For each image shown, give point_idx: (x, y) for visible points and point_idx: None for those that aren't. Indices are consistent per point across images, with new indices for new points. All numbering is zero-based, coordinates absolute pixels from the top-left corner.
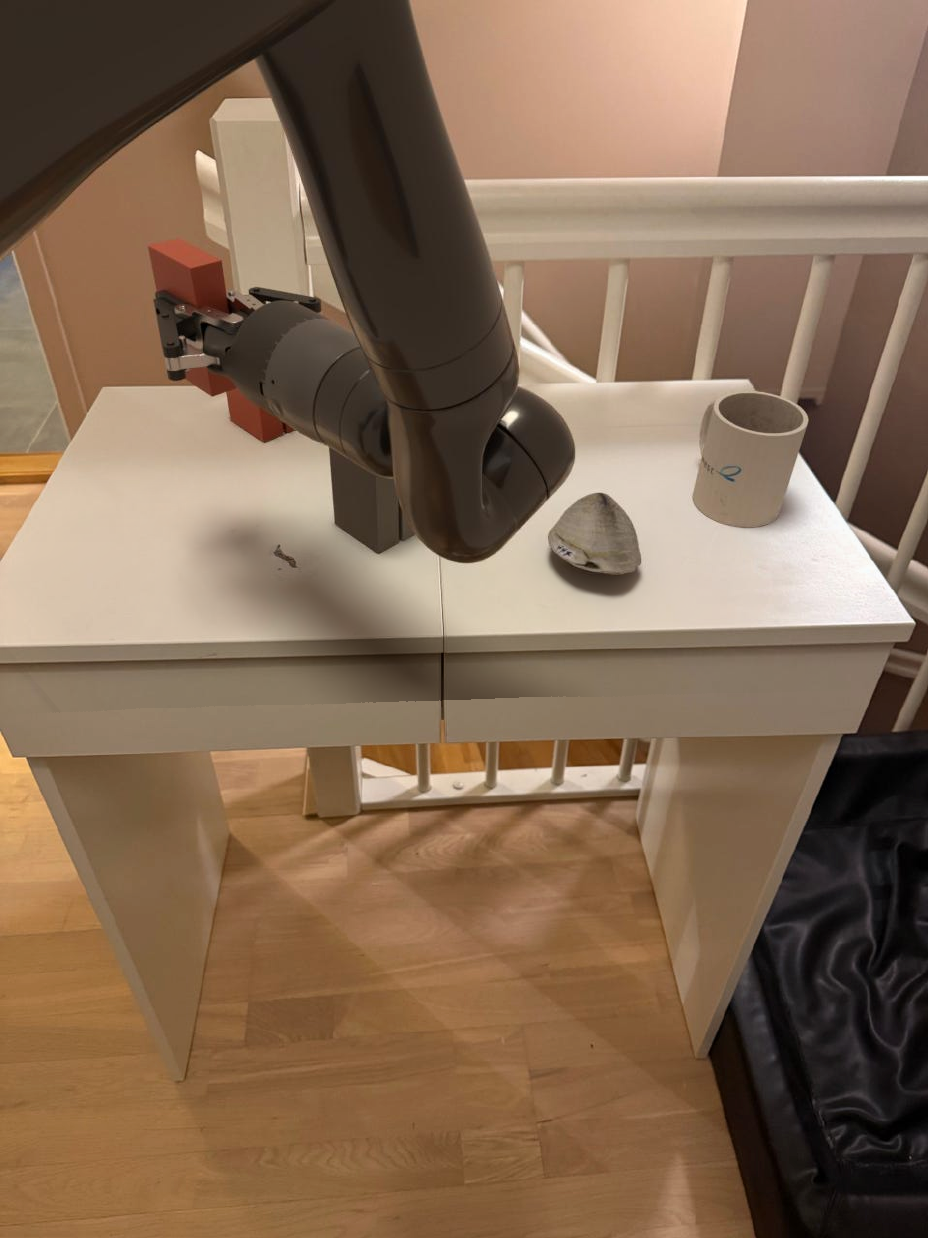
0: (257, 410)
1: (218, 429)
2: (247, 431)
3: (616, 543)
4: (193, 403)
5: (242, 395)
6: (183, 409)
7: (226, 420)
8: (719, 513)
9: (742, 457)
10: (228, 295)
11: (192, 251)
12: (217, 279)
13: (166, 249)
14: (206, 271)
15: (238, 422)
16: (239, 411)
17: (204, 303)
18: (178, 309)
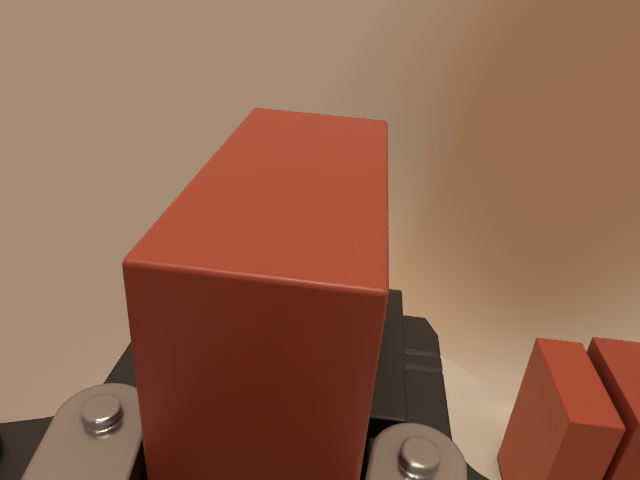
0: None
1: (467, 463)
2: None
3: None
4: (469, 391)
5: (524, 453)
6: (449, 393)
7: (491, 453)
8: None
9: None
10: (386, 469)
11: (334, 177)
12: (317, 388)
13: (270, 136)
14: (239, 321)
15: (503, 474)
16: (511, 465)
17: (196, 464)
18: (65, 419)
